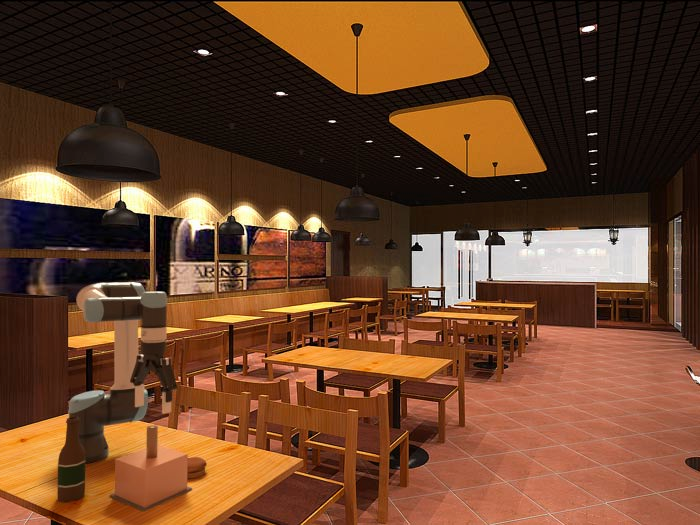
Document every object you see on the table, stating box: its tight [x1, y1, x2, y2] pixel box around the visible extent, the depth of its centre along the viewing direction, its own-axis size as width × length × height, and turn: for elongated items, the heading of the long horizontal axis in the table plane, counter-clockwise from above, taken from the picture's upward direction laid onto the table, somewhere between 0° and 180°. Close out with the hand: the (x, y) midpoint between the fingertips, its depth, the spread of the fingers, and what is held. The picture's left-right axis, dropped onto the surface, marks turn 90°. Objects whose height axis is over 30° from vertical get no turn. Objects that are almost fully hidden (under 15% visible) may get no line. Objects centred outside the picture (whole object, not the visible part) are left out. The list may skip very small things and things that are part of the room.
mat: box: [109, 485, 193, 512], centre depth 152 cm, size 17×17×1 cm
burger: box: [187, 456, 208, 479], centre depth 168 cm, size 10×9×5 cm
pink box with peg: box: [114, 424, 189, 507], centre depth 152 cm, size 15×15×20 cm
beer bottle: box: [56, 417, 86, 503], centre depth 150 cm, size 8×8×24 cm
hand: (152, 409), depth 153 cm, fingers open, 13 cm apart
